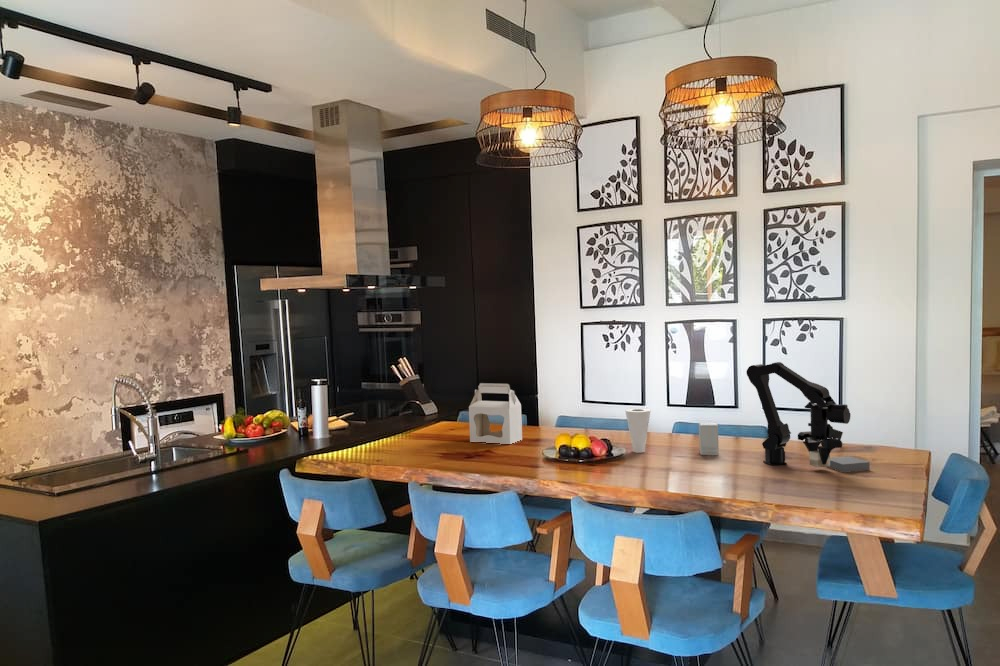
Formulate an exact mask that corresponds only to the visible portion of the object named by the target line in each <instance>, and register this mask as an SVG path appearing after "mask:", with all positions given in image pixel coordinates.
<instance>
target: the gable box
mask: <svg viewBox="0 0 1000 666" xmlns="http://www.w3.org/2000/svg"><path fill="white" fill-rule="evenodd" d="M477 387H478V388H477V389H474V395H473V397H472V400H471V402H470V403H469V406H468V418H469V424H468V425H469V443H471V442H486V443H500V444H499V445H501V444H512V443H514V444H516V443H518V442H517V441H519V442H521V441H523V424H522V423H523V422H522V420H523V418H522V416H523V415H522V404H521V402H520V400H519V399H518V397H517V395H516V391H515V390H513V389H511V385H510V384H509V383H495V382H494V383H492V382H490V383H487V382H486V383H485V382H480V383H479V385H478V386H477ZM482 394H506V395H507V394H508V401H507V400H506V401H505V400H482ZM488 416H502V417H503V419H504V420H503V424H502V428H501V429H500V430H497V431H492V430H491V429H490V426H491V425H490V424H491V422H490V420H489V417H488ZM520 440H521V441H520ZM515 442H516V443H515ZM486 443H485V444H486ZM512 445H513V444H512Z"/></svg>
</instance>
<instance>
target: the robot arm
mask: <svg viewBox="0 0 1000 666" xmlns="http://www.w3.org/2000/svg"><path fill="white" fill-rule="evenodd" d="M771 374H775V375H777V376H778V377H780V378H781V379H783V380H784V381H786V382H787V383H789V384H790V385H791V386H794V387H795V388H796V389H798V390H799V391H801V393H802V395H803V396H804V397H805V398H806V399H807V400H808V401H809V402H808V403H806V405H804V409H810V422H807V426H808V427H810V431H809V430H808V431H799V432H798V433H797V440H799V441H802V443H803V444H804V446H805V448H806V450H807V451H808V452H809V451H819V454H820V457H821V461H822V464H826V462H827V459H828V457H829V454H830V455H831V452H832V451H833V450H834V449H840V448H843V441H842V440H841V439H842V436H843V434H844V432H843V431H841V430H838V429H835V428H834V427H833V425H832V424H831V423H833V424H834V423H836V424H843V425H844V424H845V425H847V424H849V423H850V421H851V412H850V409H849V408H848V404H843V403H842V404H837V403H836V402H835V401H834V399H833V398H832V396H831V395H830V391H829V389H828V388H827V387H825V386H823V385H820V384H819V383H815V382H812V381H810V380H807V379H806V378H804V377H803V376H802V375H800V374H799V373H797V372H796V371H794V370H792V369H791V368H789V367H788V366H787V365H785V364H784V363H783V362H781V361H776V362H771V363H770V364H766V365H765V364H763V363H759V364H753V365H750V366H748V367H747V369H746V376H747V377H748V379H749V382H750V383H751V384H752V386H754V387H755V389H756V392H757V395H758V398H759V400H760V404H761V406H762V409H763V413H764V416H765V419H766V422H767V429H766V433H767V438H766V439H765V440H764V441H762V443H761V445H762V447H763V449H764V454H765V455H764V457H765V458H764V459H765V460H763V461H762V462H763V463H764V464H768V465H770V466H779V465H780V464H782V465H787V464H788V463H787V462H786V451H785V448H784V447H786V445H787V443H788V442H789V441H790V439H791V434H792V432H791V431H790V428H789V427H790V426H789V424H788V423H783V422H782V420H781V418H780V416H779V412H778V409H777V406H776V404H775V399H774V397H773V395H772V392H771V388H770V385H769V384H770V375H771ZM828 422H830V423H828ZM831 425H832V426H831ZM780 466H781V465H780Z"/></svg>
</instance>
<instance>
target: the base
mask: <svg viewBox="0 0 1000 666" xmlns="http://www.w3.org/2000/svg"><path fill="white" fill-rule="evenodd" d="M870 464H871V463H870V461H867V460H864V459H861V458H857V457H854V456H851V455H847V456H836V457H834V456H832V457H830V467H829V469H831V468H833V469H832V470H834V469H836V470H835V471H837V470H838V471H837V472H840V471H841V472H840V473H850V472H849V471H855V472H862V471H861V470H867V471H870Z"/></svg>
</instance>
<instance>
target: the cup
mask: <svg viewBox="0 0 1000 666" xmlns="http://www.w3.org/2000/svg"><path fill="white" fill-rule="evenodd" d="M625 415H626V419H627V426H628V431H629V435H630V441H631V446H632V451H633V453H636V454H637V453H638V454H641V453H645V452H646V445H647V437H648V430H649V424H650V417H651V409H648V408H639V407H638V408H627V409H625Z"/></svg>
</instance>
